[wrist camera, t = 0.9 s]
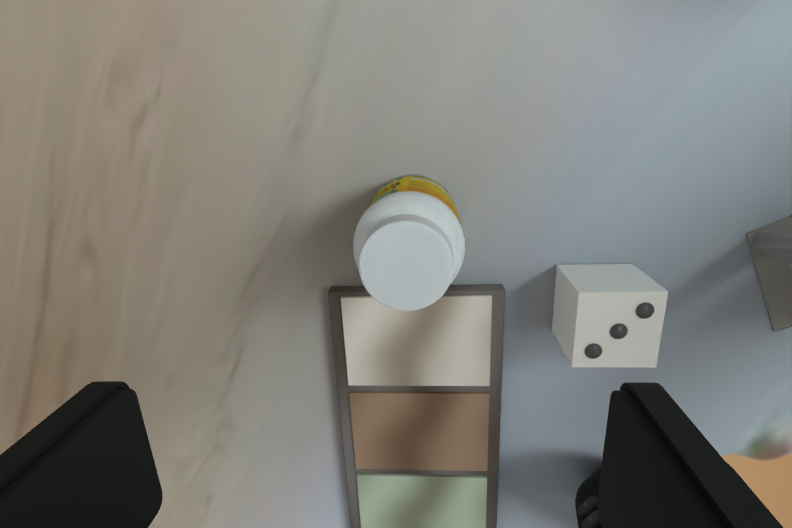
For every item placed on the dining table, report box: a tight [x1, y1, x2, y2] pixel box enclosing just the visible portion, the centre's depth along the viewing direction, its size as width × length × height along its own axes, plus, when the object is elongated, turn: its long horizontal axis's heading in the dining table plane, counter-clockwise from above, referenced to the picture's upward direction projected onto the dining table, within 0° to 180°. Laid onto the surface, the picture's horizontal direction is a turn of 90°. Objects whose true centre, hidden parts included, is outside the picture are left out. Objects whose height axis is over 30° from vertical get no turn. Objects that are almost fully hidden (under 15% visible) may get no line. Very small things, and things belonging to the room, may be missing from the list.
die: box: [552, 264, 668, 368], centre depth 26 cm, size 4×4×5 cm
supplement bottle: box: [353, 175, 465, 311], centre depth 23 cm, size 5×5×10 cm
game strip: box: [328, 284, 505, 528], centre depth 32 cm, size 11×21×1 cm, turn 3°
